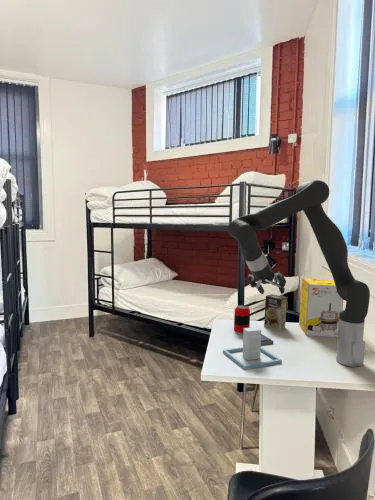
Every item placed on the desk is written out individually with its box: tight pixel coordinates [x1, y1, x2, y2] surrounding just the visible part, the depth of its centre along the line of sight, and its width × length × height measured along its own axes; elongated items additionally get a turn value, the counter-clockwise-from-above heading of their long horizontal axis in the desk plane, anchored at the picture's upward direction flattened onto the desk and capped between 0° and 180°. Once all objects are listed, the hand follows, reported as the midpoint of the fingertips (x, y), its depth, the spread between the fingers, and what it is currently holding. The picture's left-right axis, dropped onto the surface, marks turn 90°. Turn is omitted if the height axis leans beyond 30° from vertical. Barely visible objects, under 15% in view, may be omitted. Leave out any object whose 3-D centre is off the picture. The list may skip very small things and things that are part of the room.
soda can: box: [233, 305, 251, 334], centre depth 180 cm, size 8×8×12 cm
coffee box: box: [263, 294, 288, 331], centre depth 186 cm, size 9×6×16 cm
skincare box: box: [242, 326, 262, 361], centre depth 147 cm, size 6×4×12 cm
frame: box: [222, 346, 283, 370], centre depth 148 cm, size 17×17×1 cm
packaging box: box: [298, 277, 344, 338], centre depth 181 cm, size 16×16×25 cm
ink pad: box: [261, 333, 275, 346], centre depth 166 cm, size 9×9×2 cm
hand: (272, 292), depth 146 cm, fingers open, 8 cm apart
